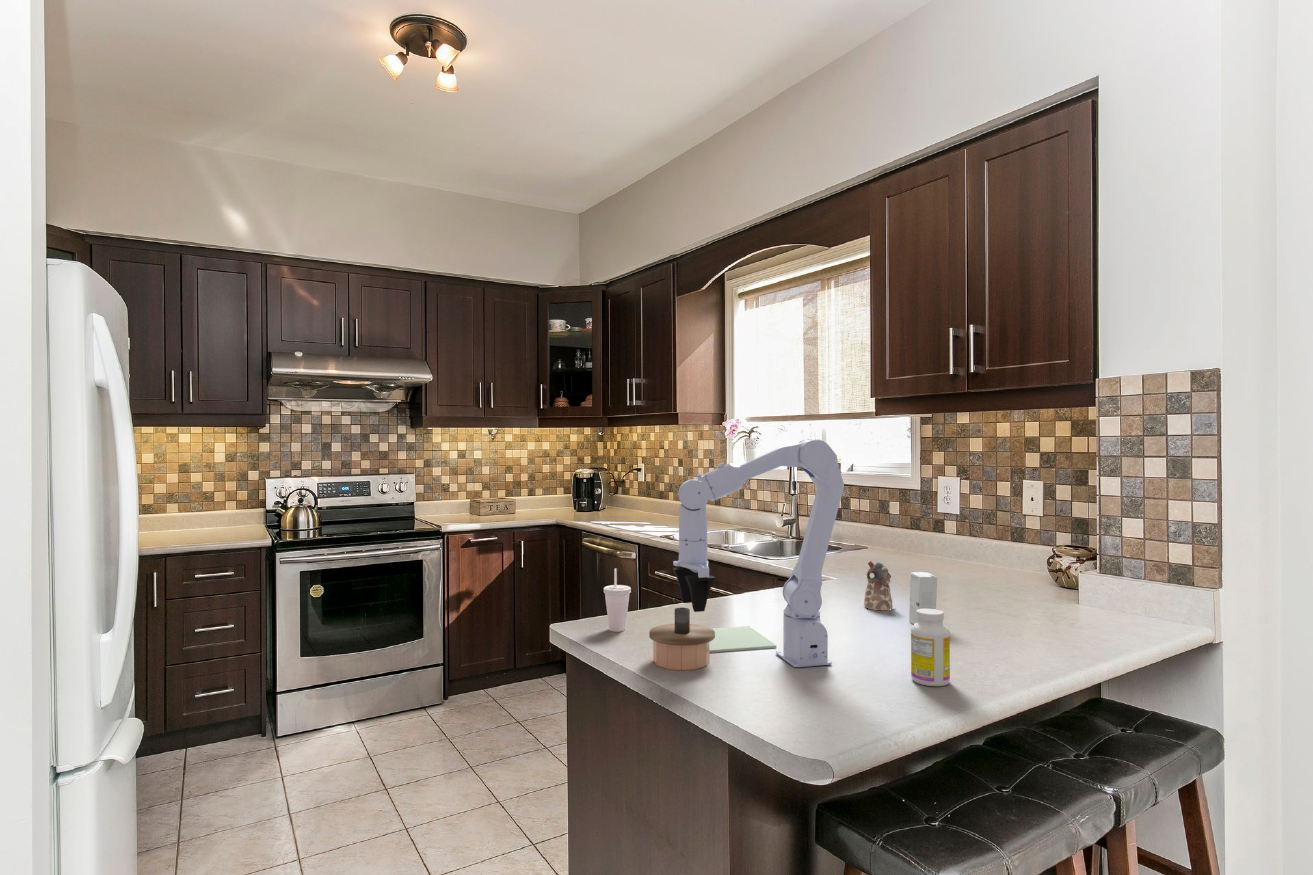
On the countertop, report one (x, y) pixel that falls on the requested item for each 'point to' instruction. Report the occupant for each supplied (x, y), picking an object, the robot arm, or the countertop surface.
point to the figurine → (878, 588)
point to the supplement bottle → (930, 649)
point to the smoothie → (617, 604)
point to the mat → (738, 640)
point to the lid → (682, 631)
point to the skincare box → (922, 593)
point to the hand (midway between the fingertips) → (693, 606)
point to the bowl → (680, 656)
